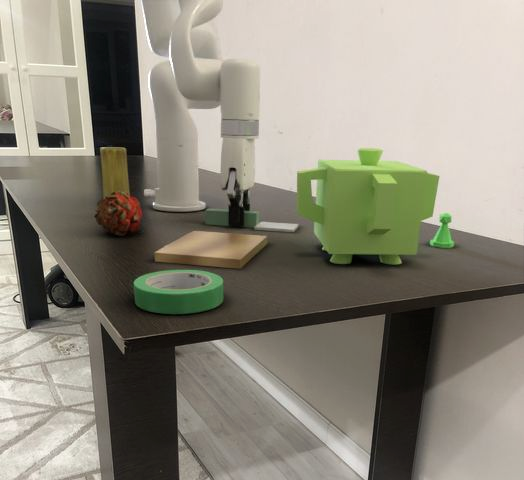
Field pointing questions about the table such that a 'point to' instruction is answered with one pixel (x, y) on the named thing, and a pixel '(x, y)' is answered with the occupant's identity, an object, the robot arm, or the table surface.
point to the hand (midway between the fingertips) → (239, 223)
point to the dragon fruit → (119, 213)
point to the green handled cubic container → (367, 206)
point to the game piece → (443, 233)
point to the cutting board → (212, 249)
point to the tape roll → (178, 291)
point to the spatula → (246, 221)
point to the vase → (114, 170)
